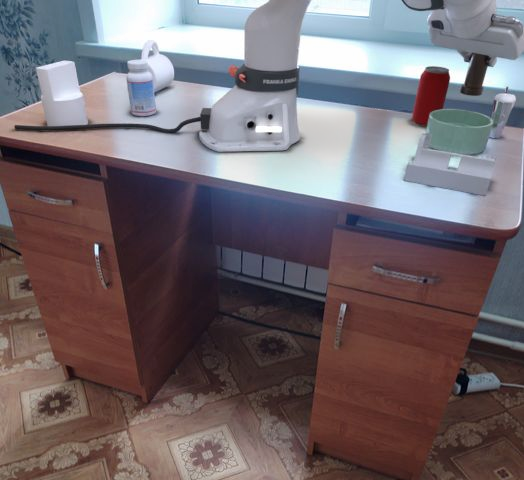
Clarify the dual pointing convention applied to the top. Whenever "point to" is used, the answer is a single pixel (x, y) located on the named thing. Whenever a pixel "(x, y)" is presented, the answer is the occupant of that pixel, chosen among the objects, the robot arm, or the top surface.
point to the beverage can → (430, 93)
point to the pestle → (475, 75)
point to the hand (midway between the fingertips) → (480, 61)
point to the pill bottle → (140, 88)
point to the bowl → (459, 130)
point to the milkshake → (501, 112)
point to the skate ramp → (438, 174)
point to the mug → (158, 66)
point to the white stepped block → (61, 94)
